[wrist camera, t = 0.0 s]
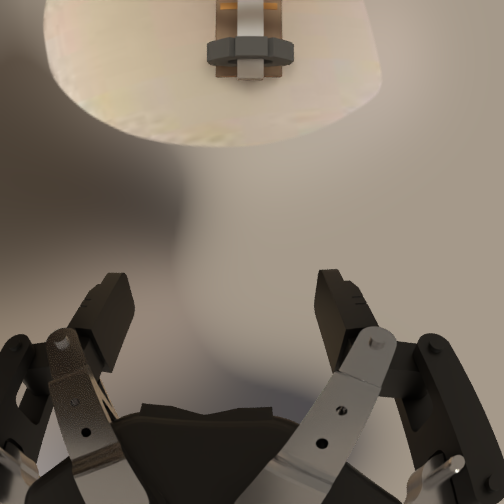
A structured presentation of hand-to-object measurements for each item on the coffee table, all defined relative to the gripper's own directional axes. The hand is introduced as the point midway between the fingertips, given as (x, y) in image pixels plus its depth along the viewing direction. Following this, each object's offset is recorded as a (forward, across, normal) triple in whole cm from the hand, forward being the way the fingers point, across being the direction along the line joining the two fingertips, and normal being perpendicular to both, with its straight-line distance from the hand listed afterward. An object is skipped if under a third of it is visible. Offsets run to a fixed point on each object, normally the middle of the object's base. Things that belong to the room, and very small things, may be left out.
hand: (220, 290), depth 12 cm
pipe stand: (+29, -2, -19) cm, 35 cm away
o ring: (+27, -2, -13) cm, 30 cm away
